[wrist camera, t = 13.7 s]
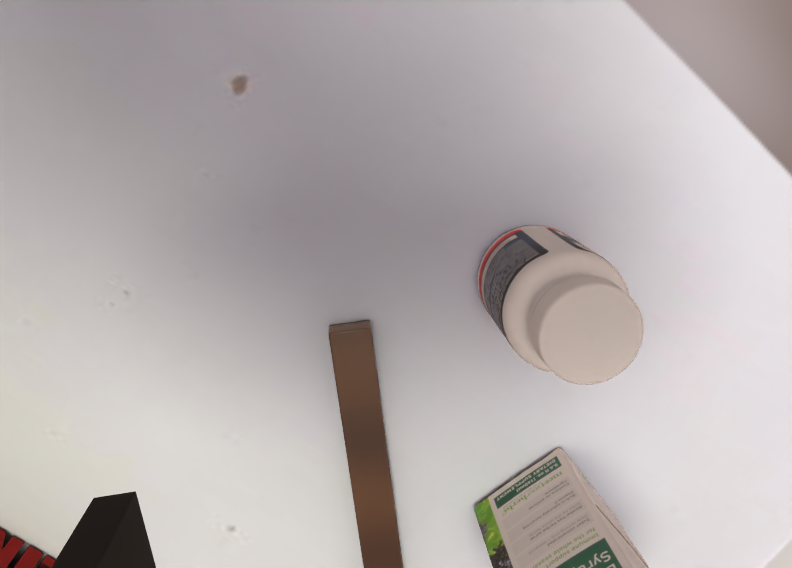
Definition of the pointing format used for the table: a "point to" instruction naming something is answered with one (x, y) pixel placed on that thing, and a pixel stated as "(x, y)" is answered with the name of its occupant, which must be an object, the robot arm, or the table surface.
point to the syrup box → (553, 522)
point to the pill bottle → (560, 305)
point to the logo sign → (28, 559)
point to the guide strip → (365, 443)
